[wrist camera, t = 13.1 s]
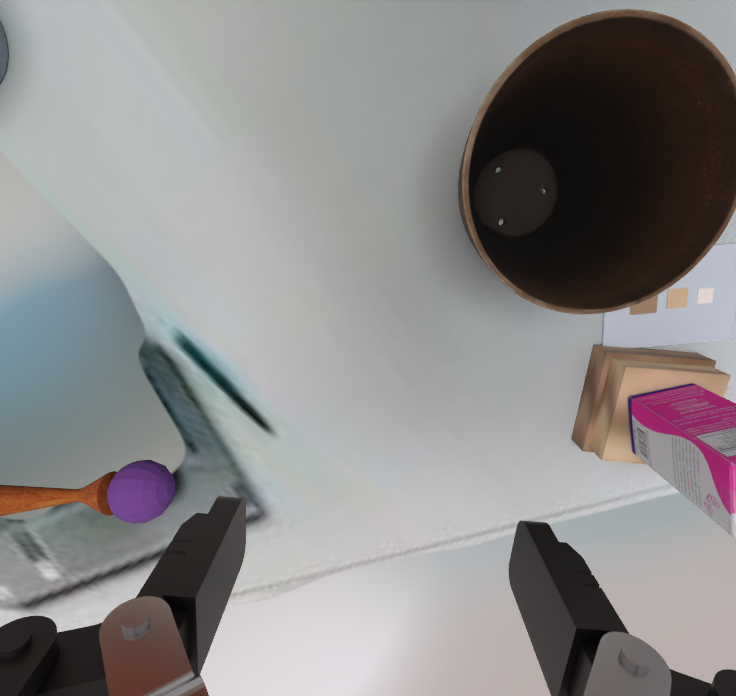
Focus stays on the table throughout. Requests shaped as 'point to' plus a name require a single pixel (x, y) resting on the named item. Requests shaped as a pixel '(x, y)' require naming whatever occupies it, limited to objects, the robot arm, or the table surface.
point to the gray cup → (3, 53)
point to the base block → (632, 393)
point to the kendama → (103, 494)
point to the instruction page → (682, 308)
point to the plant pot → (602, 162)
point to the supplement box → (690, 446)
